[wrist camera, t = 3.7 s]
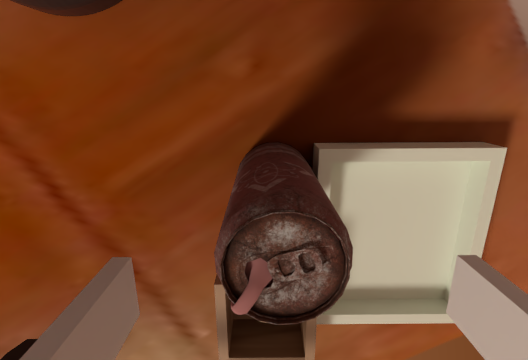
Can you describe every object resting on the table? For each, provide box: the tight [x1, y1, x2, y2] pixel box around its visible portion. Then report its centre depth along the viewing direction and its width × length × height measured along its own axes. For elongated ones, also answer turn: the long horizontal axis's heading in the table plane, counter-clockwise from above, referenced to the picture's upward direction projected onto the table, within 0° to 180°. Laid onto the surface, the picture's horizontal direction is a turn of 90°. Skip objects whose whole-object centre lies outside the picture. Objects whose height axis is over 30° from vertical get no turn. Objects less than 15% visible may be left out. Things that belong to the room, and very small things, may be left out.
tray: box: [313, 142, 507, 324], centre depth 26 cm, size 16×14×3 cm
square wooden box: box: [214, 274, 317, 360], centre depth 27 cm, size 8×8×5 cm
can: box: [214, 142, 353, 325], centre depth 19 cm, size 6×6×14 cm
